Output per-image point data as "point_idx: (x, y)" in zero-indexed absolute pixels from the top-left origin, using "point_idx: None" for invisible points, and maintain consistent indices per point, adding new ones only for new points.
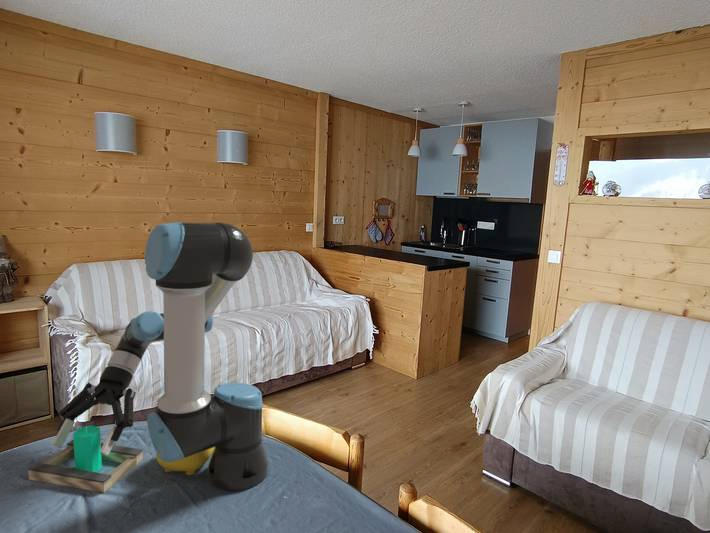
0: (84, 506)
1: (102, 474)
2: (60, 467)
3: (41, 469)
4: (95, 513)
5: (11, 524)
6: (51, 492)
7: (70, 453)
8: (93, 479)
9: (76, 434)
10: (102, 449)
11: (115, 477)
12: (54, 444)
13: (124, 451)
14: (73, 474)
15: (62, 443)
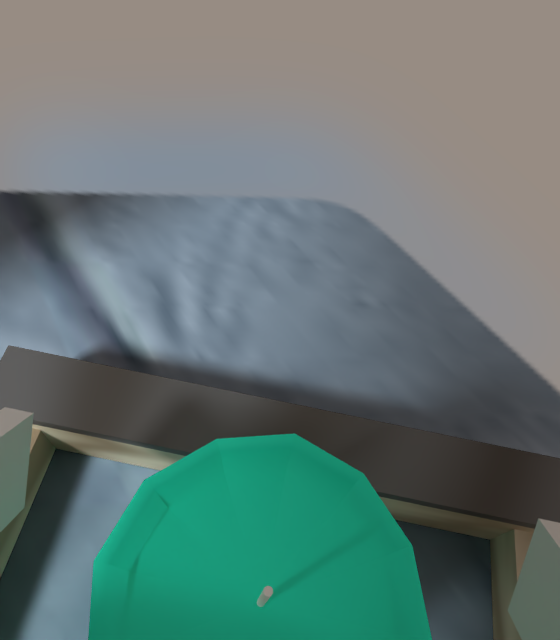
0: (98, 290)
1: (40, 409)
2: (377, 480)
3: (482, 451)
4: (27, 251)
5: (338, 206)
6: (324, 381)
7: None
8: (82, 362)
9: (369, 552)
10: (2, 420)
11: None
12: (541, 519)
13: None
14: (238, 405)
15: (527, 629)
